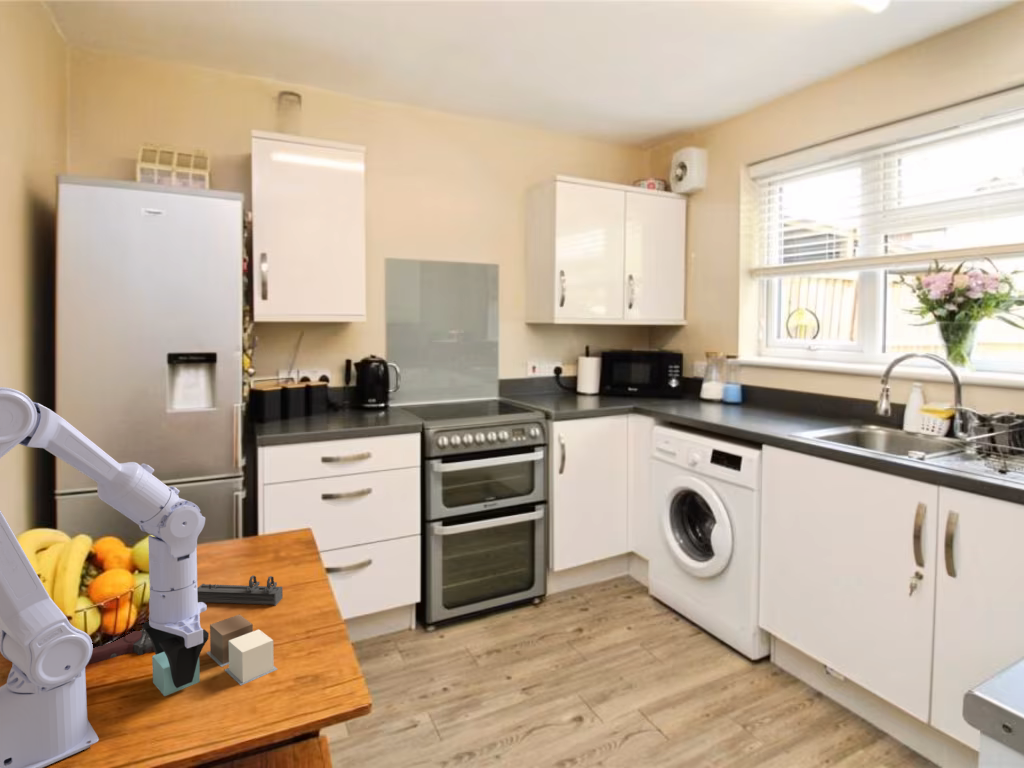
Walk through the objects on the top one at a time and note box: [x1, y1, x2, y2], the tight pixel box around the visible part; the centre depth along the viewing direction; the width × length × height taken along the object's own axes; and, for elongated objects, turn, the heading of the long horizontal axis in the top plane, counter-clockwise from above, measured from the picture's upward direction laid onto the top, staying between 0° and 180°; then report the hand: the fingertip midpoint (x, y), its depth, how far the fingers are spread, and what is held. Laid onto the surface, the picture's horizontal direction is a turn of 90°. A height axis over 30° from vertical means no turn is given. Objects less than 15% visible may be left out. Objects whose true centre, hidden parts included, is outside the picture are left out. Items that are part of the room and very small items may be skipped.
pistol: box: [87, 627, 155, 665], centre depth 94 cm, size 2×15×12 cm
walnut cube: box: [209, 614, 254, 664], centre depth 89 cm, size 4×4×4 cm
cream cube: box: [228, 628, 275, 683], centre depth 85 cm, size 4×4×4 cm
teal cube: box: [151, 652, 201, 697], centre depth 82 cm, size 4×4×4 cm
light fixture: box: [197, 575, 284, 607], centre depth 106 cm, size 3×15×6 cm, turn 88°
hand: (176, 675), depth 82 cm, fingers open, 5 cm apart
